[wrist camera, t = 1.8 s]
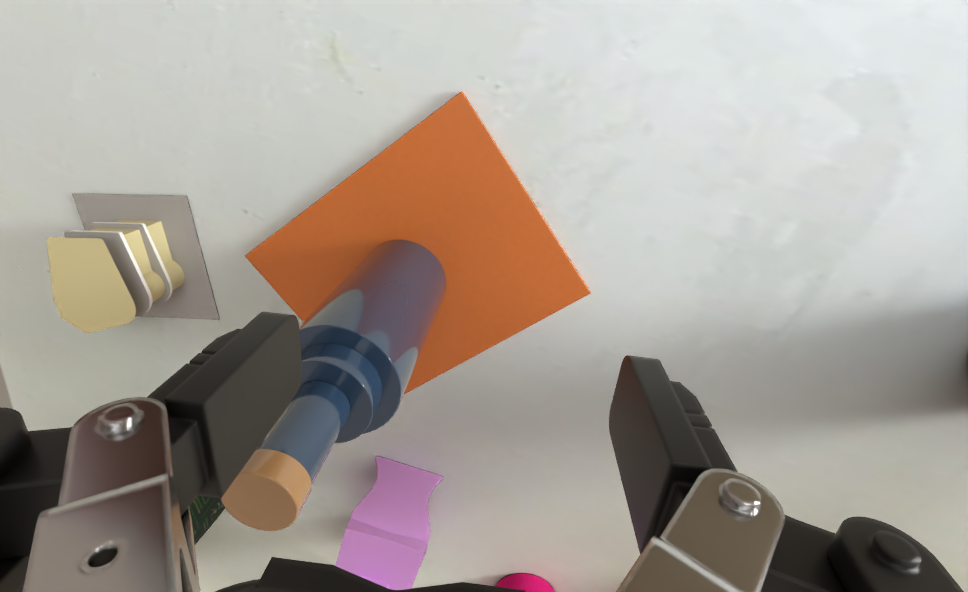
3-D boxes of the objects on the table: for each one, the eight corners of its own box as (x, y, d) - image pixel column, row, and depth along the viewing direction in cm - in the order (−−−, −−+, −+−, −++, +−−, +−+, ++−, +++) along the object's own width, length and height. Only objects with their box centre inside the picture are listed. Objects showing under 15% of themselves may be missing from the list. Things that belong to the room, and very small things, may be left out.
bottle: (410, 222, 33) (255, 400, 15) (463, 293, 35) (384, 530, 16) (343, 268, 35) (132, 476, 17) (396, 333, 37) (260, 585, 18)
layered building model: (72, 193, 35) (-5, 212, 30) (186, 195, 34) (127, 215, 29) (116, 314, 39) (55, 349, 34) (219, 319, 38) (172, 355, 33)
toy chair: (455, 475, 43) (418, 660, 29) (430, 538, 46) (387, 727, 33) (367, 448, 42) (287, 621, 29) (349, 513, 46) (271, 694, 32)
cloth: (462, 91, 29) (461, 91, 29) (590, 291, 34) (590, 293, 34) (246, 254, 36) (244, 256, 35) (380, 405, 40) (379, 407, 40)
